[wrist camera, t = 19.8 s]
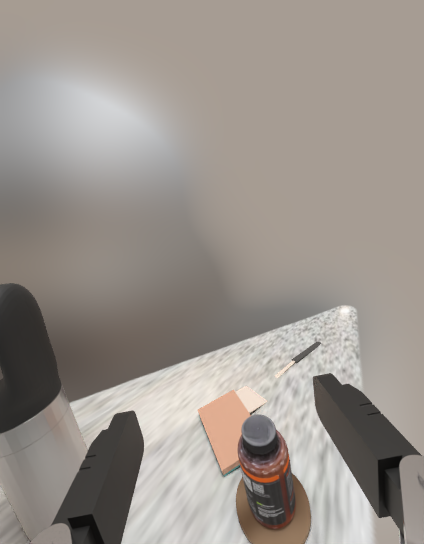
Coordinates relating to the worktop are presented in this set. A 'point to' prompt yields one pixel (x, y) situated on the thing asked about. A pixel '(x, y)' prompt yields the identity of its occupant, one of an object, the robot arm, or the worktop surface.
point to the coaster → (283, 540)
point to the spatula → (254, 399)
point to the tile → (225, 428)
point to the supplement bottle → (266, 472)
